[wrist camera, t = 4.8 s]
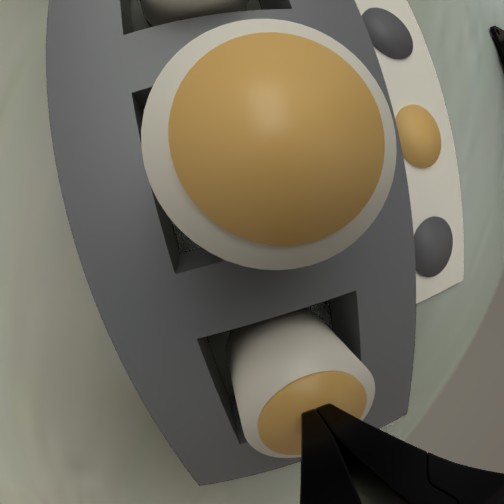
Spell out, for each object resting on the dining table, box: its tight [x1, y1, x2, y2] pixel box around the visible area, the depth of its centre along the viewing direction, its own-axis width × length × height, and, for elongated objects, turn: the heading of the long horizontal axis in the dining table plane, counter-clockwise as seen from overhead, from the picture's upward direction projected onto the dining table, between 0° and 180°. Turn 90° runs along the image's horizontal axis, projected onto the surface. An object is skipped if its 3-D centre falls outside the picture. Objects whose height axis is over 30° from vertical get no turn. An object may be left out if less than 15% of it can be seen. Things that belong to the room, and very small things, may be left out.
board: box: [46, 0, 416, 486], centre depth 9 cm, size 10×24×2 cm, turn 13°
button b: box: [141, 19, 397, 270], centre depth 6 cm, size 4×4×4 cm
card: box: [355, 0, 464, 304], centre depth 11 cm, size 5×15×1 cm, turn 13°
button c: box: [226, 307, 375, 458], centre depth 9 cm, size 4×4×4 cm
